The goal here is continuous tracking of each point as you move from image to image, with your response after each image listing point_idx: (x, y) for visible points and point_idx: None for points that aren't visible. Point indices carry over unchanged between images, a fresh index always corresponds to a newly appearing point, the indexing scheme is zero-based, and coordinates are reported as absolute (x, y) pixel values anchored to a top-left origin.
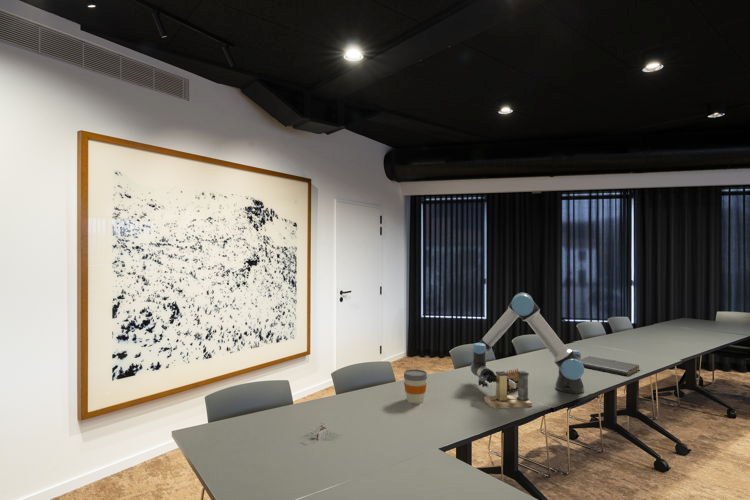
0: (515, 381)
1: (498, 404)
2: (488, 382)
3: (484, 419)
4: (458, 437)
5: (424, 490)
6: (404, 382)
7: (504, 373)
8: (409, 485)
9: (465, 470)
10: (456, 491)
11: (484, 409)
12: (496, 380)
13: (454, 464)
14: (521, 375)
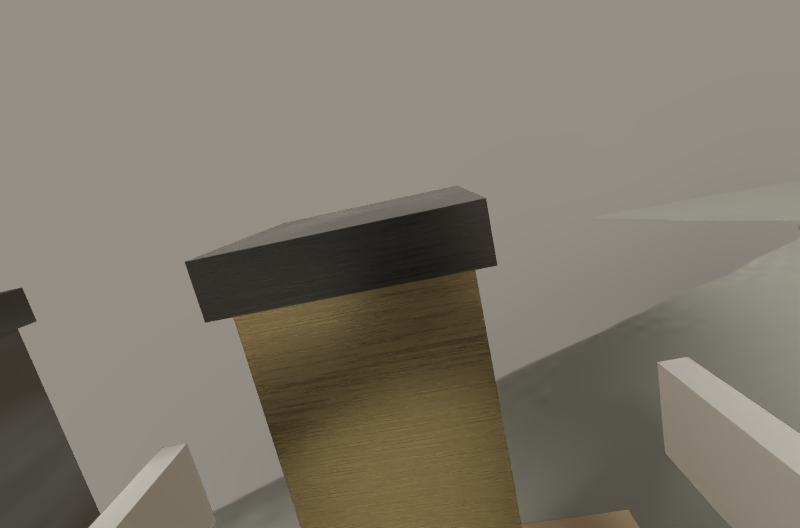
0: None
1: (565, 520)
2: (773, 446)
3: None
4: (774, 258)
5: (747, 190)
6: None
7: (328, 215)
8: (788, 186)
9: (682, 216)
10: (683, 201)
11: None
12: (507, 456)
13: (718, 216)
14: (14, 332)
